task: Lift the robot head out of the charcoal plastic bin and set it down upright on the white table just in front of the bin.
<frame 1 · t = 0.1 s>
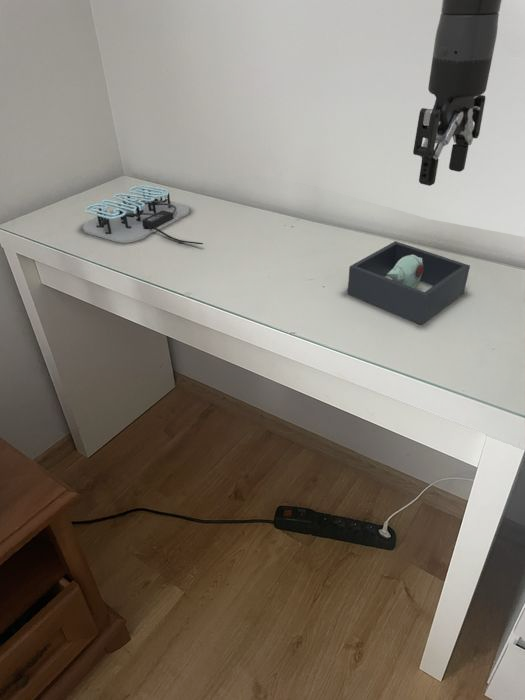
hand: (441, 177, 79), 17 cm above the table, tool pointing down, fingers open, 8 cm apart
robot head: (405, 295, 85), resting in bin
neon sign: (162, 226, 111), on the table
bin: (405, 293, 85), on the table
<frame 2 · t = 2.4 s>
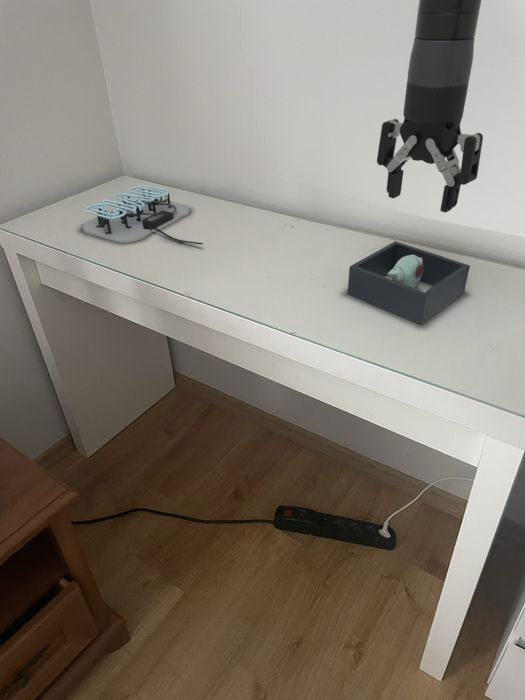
hand: (419, 203, 76), 15 cm above the table, tool pointing down, fingers open, 8 cm apart
nothing on the table moved.
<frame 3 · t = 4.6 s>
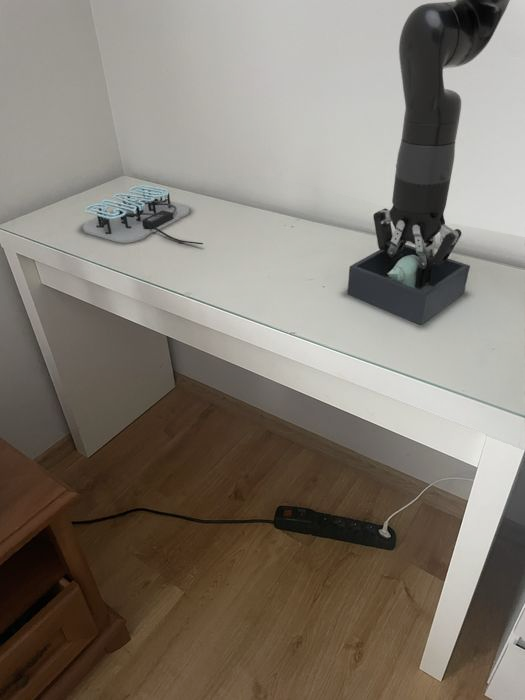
hand: (407, 281, 84), 2 cm above the table, tool pointing down, fingers closed on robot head, 4 cm apart
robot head: (405, 295, 85), resting in bin, touching gripper
everything else where it was.
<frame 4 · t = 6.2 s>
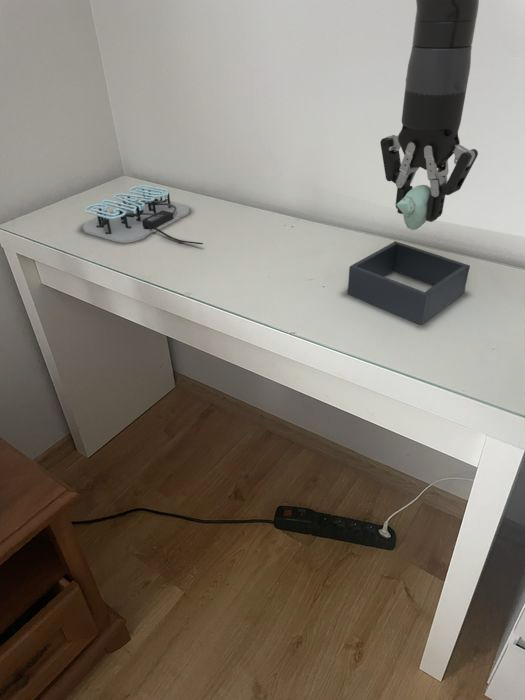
hand: (417, 215, 77), 13 cm above the table, tool pointing down, fingers closed on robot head, 4 cm apart
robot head: (414, 231, 78), point 11 cm above the table, touching gripper
everything else where it was.
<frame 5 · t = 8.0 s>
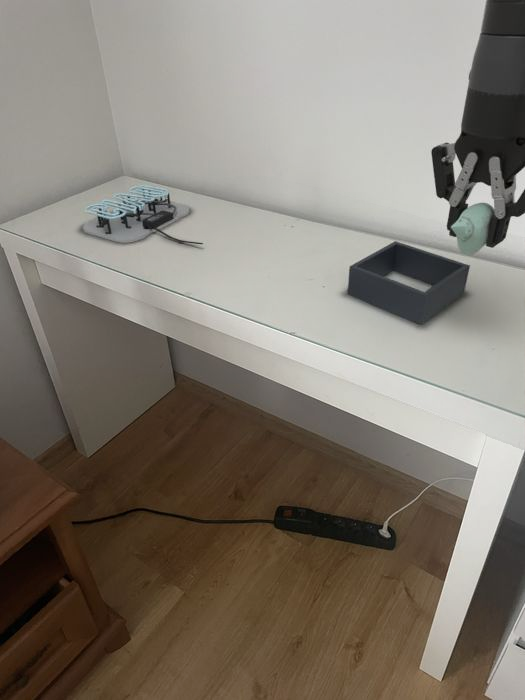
hand: (473, 239, 64), 16 cm above the table, tool pointing down, fingers closed on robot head, 4 cm apart
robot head: (469, 257, 65), point 13 cm above the table, touching gripper
everything else where it was.
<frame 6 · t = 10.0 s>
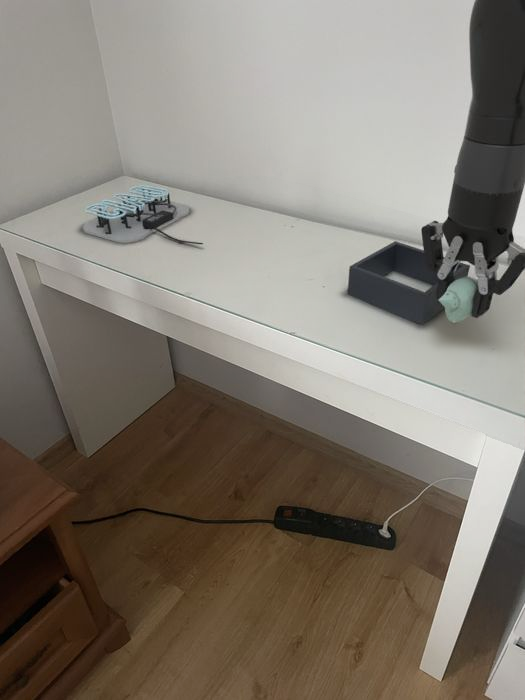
hand: (460, 308, 70), 6 cm above the table, tool pointing down, fingers closed on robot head, 4 cm apart
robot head: (456, 323, 71), point 4 cm above the table, touching gripper
everything else where it was.
when the fingers open (2 cm above the table, at t = 11.3 s): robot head stays where it is, on the table.
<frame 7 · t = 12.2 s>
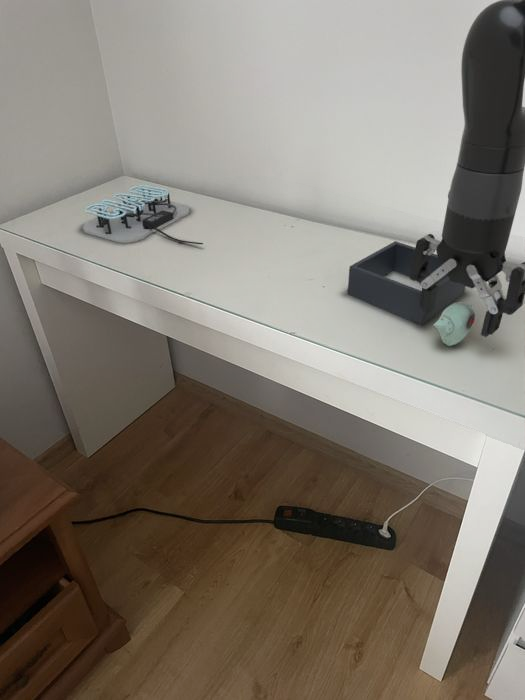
hand: (455, 322, 71), 4 cm above the table, tool pointing down, fingers open, 8 cm apart
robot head: (451, 346, 73), on the table
everything else where it was.
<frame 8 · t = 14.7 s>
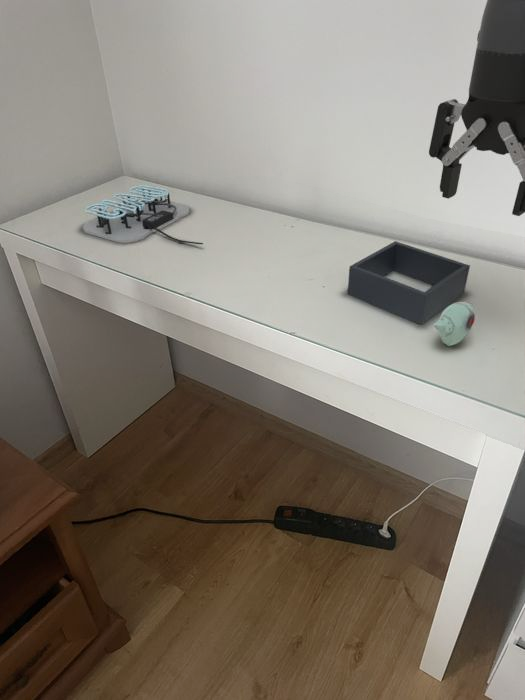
hand: (482, 204, 61), 20 cm above the table, tool pointing down, fingers open, 8 cm apart
nothing on the table moved.
at the end: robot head inside the target area (0.1 cm from its centre), on the table; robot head tilted 0° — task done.
